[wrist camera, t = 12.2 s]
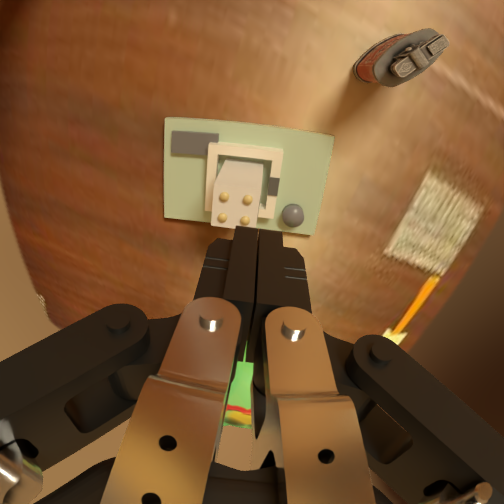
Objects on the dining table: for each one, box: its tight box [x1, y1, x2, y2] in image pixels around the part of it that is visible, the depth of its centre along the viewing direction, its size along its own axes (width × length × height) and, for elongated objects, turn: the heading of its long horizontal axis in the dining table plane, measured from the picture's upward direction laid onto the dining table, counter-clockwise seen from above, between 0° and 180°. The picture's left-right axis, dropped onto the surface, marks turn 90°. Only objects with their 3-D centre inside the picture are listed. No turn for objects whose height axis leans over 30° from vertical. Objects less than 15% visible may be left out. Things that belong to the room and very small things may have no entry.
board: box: [164, 117, 335, 235], centre depth 34 cm, size 18×12×3 cm, turn 84°
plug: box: [211, 158, 264, 229], centre depth 31 cm, size 4×4×8 cm
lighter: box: [353, 28, 449, 87], centre depth 22 cm, size 8×3×10 cm, turn 133°
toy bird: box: [223, 342, 253, 429], centre depth 45 cm, size 18×17×15 cm
